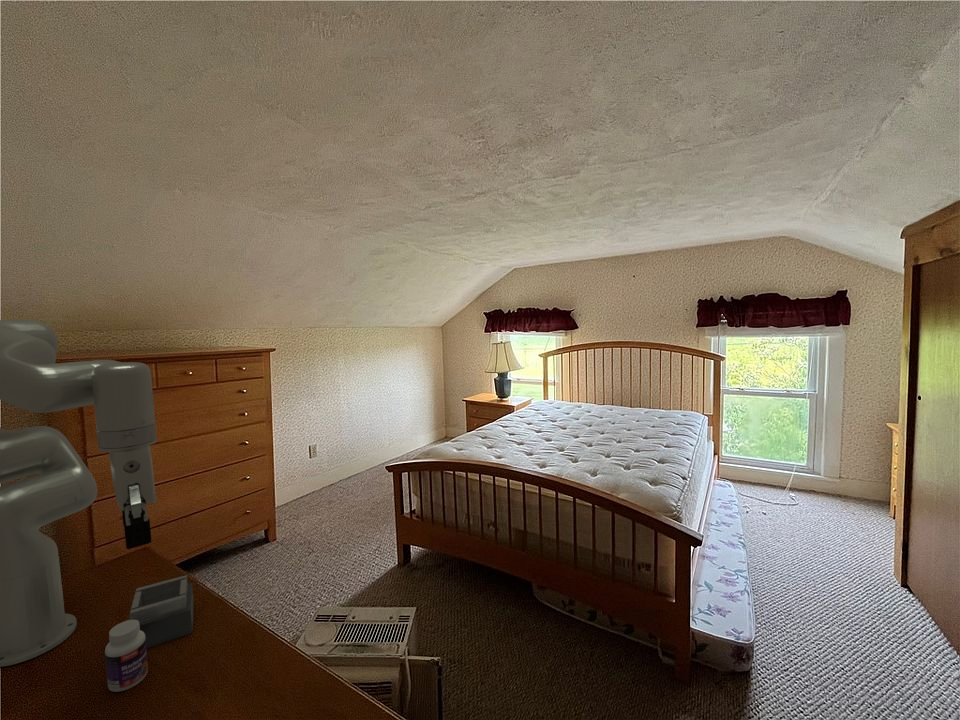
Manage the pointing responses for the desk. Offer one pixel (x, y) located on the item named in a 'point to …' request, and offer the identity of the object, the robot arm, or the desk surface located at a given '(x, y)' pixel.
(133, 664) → the pill bottle
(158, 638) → the grey open box
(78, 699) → the desk surface
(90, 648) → the desk surface
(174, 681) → the desk surface
